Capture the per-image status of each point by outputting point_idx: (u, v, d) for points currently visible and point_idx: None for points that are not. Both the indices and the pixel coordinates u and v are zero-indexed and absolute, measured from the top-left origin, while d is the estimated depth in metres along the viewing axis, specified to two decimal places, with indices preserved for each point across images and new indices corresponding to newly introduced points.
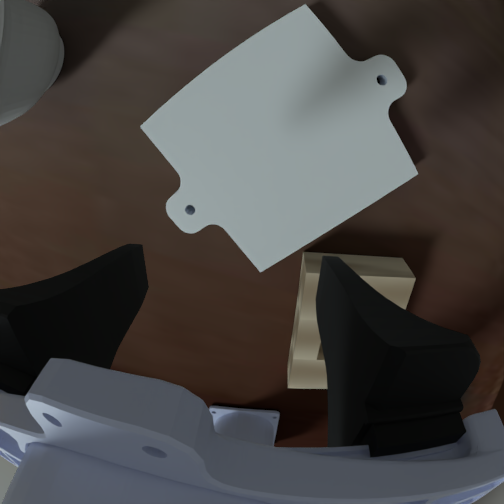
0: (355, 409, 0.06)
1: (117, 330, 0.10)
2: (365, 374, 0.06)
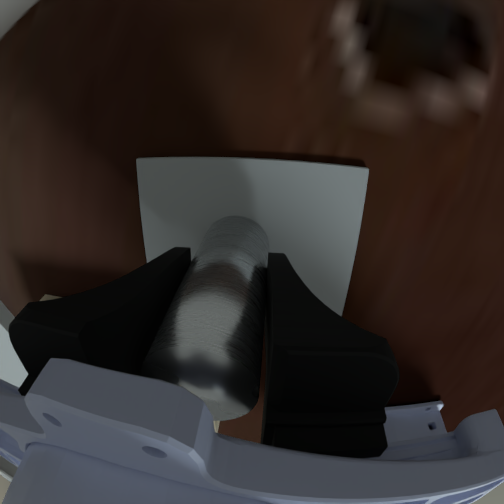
0: (265, 408, 0.06)
1: None
2: (268, 373, 0.06)
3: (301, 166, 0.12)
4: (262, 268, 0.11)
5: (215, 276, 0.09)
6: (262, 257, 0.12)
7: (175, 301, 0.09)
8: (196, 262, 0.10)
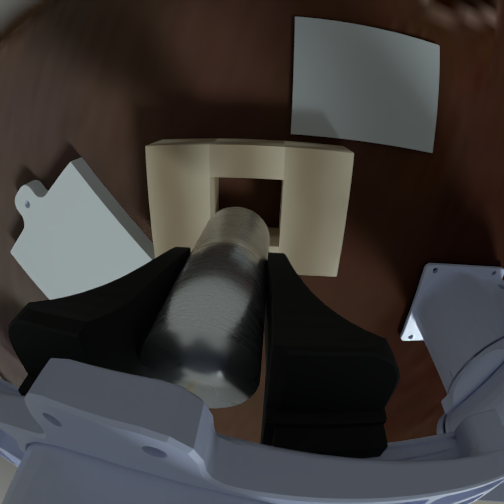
0: (265, 408, 0.06)
1: None
2: (268, 373, 0.06)
3: (402, 37, 0.14)
4: (265, 262, 0.11)
5: (223, 262, 0.09)
6: (265, 251, 0.12)
7: (181, 282, 0.08)
8: (202, 247, 0.10)
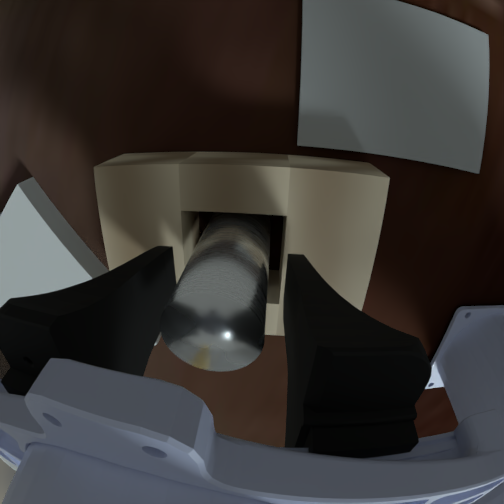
0: (298, 410, 0.06)
1: (150, 335, 0.10)
2: (304, 374, 0.06)
3: (445, 19, 0.09)
4: (267, 244, 0.13)
5: (231, 242, 0.10)
6: (267, 236, 0.13)
7: (195, 259, 0.10)
8: (212, 230, 0.12)
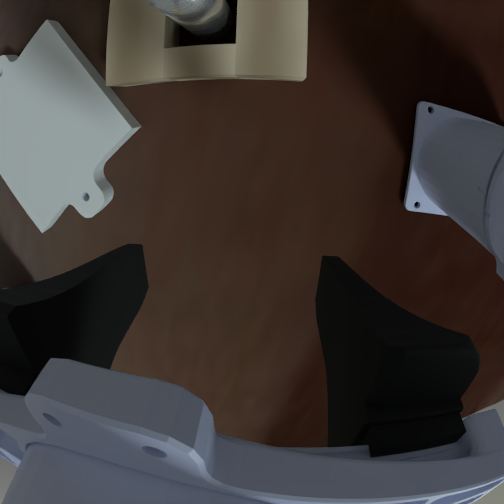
0: (355, 409, 0.06)
1: (117, 330, 0.10)
2: (365, 374, 0.06)
3: None
4: None
5: None
6: (226, 2, 0.13)
7: None
8: None
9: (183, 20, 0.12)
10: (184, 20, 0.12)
